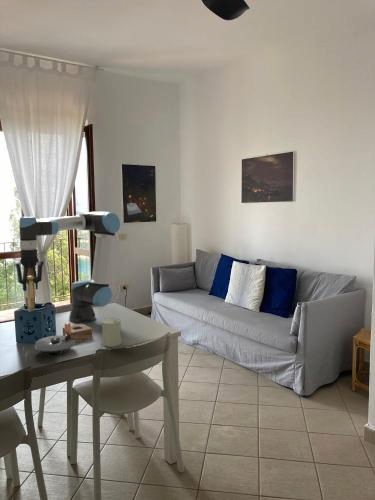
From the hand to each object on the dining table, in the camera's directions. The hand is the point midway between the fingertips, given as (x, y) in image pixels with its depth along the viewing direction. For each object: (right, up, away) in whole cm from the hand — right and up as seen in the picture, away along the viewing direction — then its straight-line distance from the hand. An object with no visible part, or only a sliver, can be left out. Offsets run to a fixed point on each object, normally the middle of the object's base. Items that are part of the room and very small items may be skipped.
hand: (30, 296), depth 199 cm
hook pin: (0, -7, +1) cm, 7 cm away
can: (+39, -24, +4) cm, 46 cm away
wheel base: (+15, -25, -8) cm, 30 cm away
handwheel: (+15, -22, -8) cm, 28 cm away
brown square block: (+20, -23, +12) cm, 32 cm away
